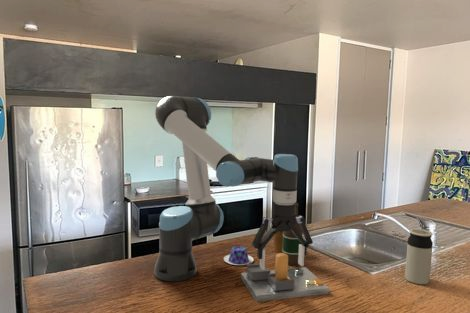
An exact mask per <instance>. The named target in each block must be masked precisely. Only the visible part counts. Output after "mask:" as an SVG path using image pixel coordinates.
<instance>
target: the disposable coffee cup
mask: <svg viewBox="0 0 470 313" xmlns="http://www.w3.org/2000/svg"><path fill="white" fill-rule="evenodd" d="M282 242H283V232H279V231H278V232H277V233H276V234H275V235H274V236H273V245H274V252H276V254H278V253H282Z"/></svg>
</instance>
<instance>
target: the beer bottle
mask: <svg viewBox="0 0 470 313" xmlns="http://www.w3.org/2000/svg"><path fill="white" fill-rule="evenodd" d="M295 204H296V215H295V217H298V216H299V206H300V205H299V203H298V202H297V201H296V202H295ZM294 227H295V228H296V229H297V231H298V232H299V234H300V235H301V236H302V237H303V232H302V230H301V228H300V225H299V223H298V222H297V221H296V223H295V224H294ZM299 244H301V245H302V243H301V242H300V241H299V240H298V238H297V237H296V236H295V235H294V233H293V232H292V231H291V230H290V231H288V232H286V231H283V242H282V253H284V254H287V255H288V266H298V265H299V264H298V254H299Z"/></svg>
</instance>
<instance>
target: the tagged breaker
mask: <svg viewBox="0 0 470 313" xmlns="http://www.w3.org/2000/svg"><path fill="white" fill-rule="evenodd" d="M268 282H269V284H270V285H271V286H272V287H273V289H274V290H275V291H277V290H287V289H294V279H291V278H290V277H289V276H288V275H287V280H282V281H277V280H275V273H270V274H268Z"/></svg>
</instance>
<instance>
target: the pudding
mask: <svg viewBox="0 0 470 313" xmlns="http://www.w3.org/2000/svg"><path fill="white" fill-rule="evenodd" d="M223 261H224V262H226V263H227V264H229V265H234V266H247V265H251V264H252V263H253V262H254V261H255V260H254V257H253V256H251V255H249V254H248V251H247V248H246V247H244V246H243V245H236V246H233V247H231V249H230V254H227V255H225V256H224V257H223Z"/></svg>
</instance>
